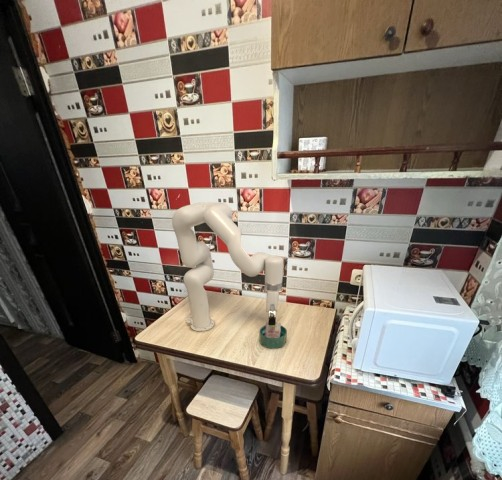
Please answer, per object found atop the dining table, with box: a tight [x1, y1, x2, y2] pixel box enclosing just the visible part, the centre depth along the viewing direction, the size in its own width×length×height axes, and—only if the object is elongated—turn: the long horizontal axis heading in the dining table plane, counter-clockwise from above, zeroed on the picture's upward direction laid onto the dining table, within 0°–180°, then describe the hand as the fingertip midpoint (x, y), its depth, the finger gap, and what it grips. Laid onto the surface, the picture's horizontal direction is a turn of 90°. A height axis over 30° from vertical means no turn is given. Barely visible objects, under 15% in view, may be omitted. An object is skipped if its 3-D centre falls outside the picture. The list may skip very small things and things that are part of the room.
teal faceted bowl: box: [258, 324, 288, 349], centre depth 133 cm, size 13×13×6 cm
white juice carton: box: [265, 321, 282, 338], centre depth 132 cm, size 4×7×10 cm, turn 78°
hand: (272, 319), depth 128 cm, fingers open, 9 cm apart
